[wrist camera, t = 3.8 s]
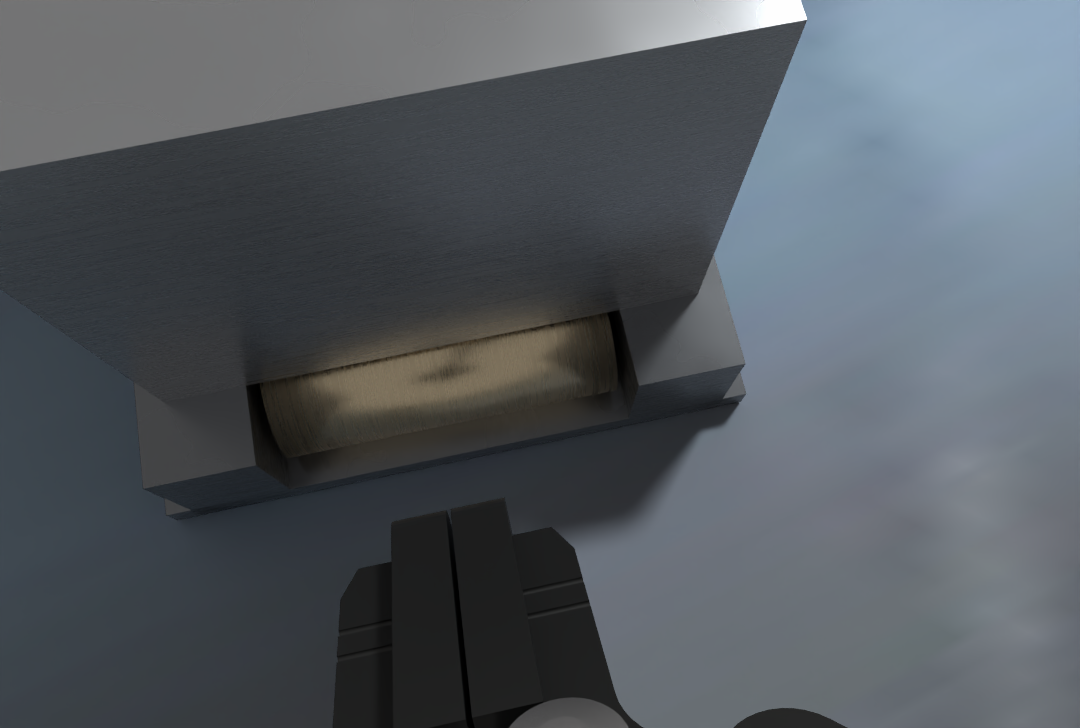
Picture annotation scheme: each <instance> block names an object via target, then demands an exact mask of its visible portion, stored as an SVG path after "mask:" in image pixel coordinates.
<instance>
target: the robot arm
mask: <svg viewBox="0 0 1080 728" xmlns="http://www.w3.org/2000/svg"><path fill="white" fill-rule="evenodd" d="M451 520H452V526H451V522H450V518H449V515H448V512H447V510H446V511H441V512H436V513H432V514H427V515H422V516H418V517H413V518H408V519H403V520H399V521H394V522H392V525H391V556H392V562H388V563H384V564H379V565H374V566H370V567H365V568H360V569H358V570H357V572H356V574H355V576H354V577H353V579H352V581H351V582H350V584H349V586H348V588H347V589H346V591H345V593H344V594H343V596H342V598H341V601H340V618H339V634H340V636H339V637H338V650H337V657H338V663H337V667H336V683H335V699H334V716H333V728H643V727H641V726H640V725H639V724H637V723H636V722H635V721H633V720H632V719H631V718H630V717H629V716H628V715H627V713H626V712H625V711H624V710H623V708H622V707H621V705H620V703H619V702H618V699H617V696H616V694H615V691H614V687H613V684H612V680H611V677H610V673H609V669H608V666H607V662H606V659H605V655H604V652H603V648H602V645H601V641H600V638H599V634H598V631H597V627H596V624H595V620H594V616H593V613H592V609H591V606H590V603H589V599H588V595H587V592H586V588H585V585H584V582H583V578H582V574H581V571H580V567H579V563H578V560H577V556H576V553H575V549H574V548H573V547H572V546H571V545H570V544H569V543H568V542H567V541H566V540H565V539H564V538H563V537H562V536H561V535H559V534H558V533H557V532H556V531H555V530H554V529H553V528H552V527H549V528H545V529H540V530H535V531H531V532H526V533H521V534H517V535H512V531H511V526H510V521H509V517H508V512H507V507H506V503H505V498H501V499H496V500H491V501H487V502H482V503H477V504H473V505H468V506H463V507H459V508H454V509H451ZM452 529H453V530H452ZM734 728H847V727H845V726H843V725H841V724H839V723H837V722H835V721H833V720H831V719H829V718H827V717H824V716H822V715H820V714H817V713H814V712H810V711H807V710H801V709H794V708H779V709H771V710H766V711H762V712H759V713H756V714H754V715H752V716H749V717H747V718H746V719H744V720H743V721H741V722H740V723H738V724H737V725H736V726H735V727H734Z"/></svg>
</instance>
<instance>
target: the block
mask: <svg viewBox="0 0 1080 728" xmlns="http://www.w3.org/2000/svg"><path fill="white" fill-rule="evenodd" d="M806 21H807V18H806V15H805V12H804V9H803V6H802V3H801V0H0V289H1V290H2V291H4V292H5V293H7V294H8V295H10V296H11V297H13V298H14V299H15V300H17V301H18V302H20V303H21V304H23V305H24V306H26V307H27V308H28V309H30V310H31V311H33V312H34V313H36V314H37V315H38V316H40V317H41V318H43V319H44V320H46V321H47V322H49V323H50V324H51V325H53V326H54V327H56V328H57V329H59V330H60V331H61V332H63V333H64V334H66V335H67V336H69V337H70V338H72V339H73V340H74V341H76V342H77V343H79V344H80V345H82V346H83V347H85V348H86V349H87V350H89V351H90V352H92V353H93V354H95V355H96V356H97V357H99V358H100V359H102V360H103V361H105V362H106V363H108V364H109V365H110V366H112V367H113V368H115V369H116V370H118V371H119V372H120V373H122V374H123V375H125V376H126V377H128V378H129V379H131V380H132V381H133V382H135V383H136V384H138V385H139V386H141V387H142V388H144V389H145V390H146V391H148V392H149V393H151V394H152V395H154V396H155V397H156V398H158V399H159V400H161V401H162V402H169V401H174V400H179V399H184V398H189V397H194V396H199V395H204V394H209V393H213V392H218V391H223V390H228V389H233V388H238V387H243V386H248V385H253V384H258V383H263V382H268V381H273V380H277V379H282V378H287V377H292V376H297V375H302V374H307V373H312V372H317V371H322V370H327V369H332V368H337V367H341V366H346V365H351V364H356V363H361V362H366V361H371V360H376V359H381V358H386V357H391V356H396V355H400V354H405V353H410V352H415V351H420V350H425V349H430V348H435V347H440V346H445V345H450V344H455V343H460V342H464V341H469V340H474V339H479V338H484V337H489V336H494V335H499V334H504V333H509V332H514V331H519V330H524V329H528V328H533V327H538V326H543V325H548V324H553V323H558V322H563V321H568V320H573V319H578V318H583V317H588V316H592V315H597V314H602V313H607V312H612V311H617V310H622V309H627V308H632V307H637V306H642V305H647V304H651V303H656V302H661V301H666V300H671V299H676V298H681V297H686V296H691V295H696V294H698V293H699V290H700V288H701V285H702V283H703V280H704V278H705V275H706V273H707V270H708V268H709V265H710V263H711V260H712V258H713V255H714V252H715V250H716V247H717V245H718V242H719V240H720V237H721V235H722V232H723V230H724V227H725V225H726V222H727V220H728V217H729V215H730V212H731V210H732V207H733V205H734V202H735V200H736V197H737V195H738V192H739V190H740V187H741V185H742V182H743V180H744V177H745V175H746V172H747V170H748V167H749V165H750V162H751V159H752V157H753V154H754V152H755V149H756V147H757V144H758V142H759V139H760V137H761V134H762V132H763V129H764V127H765V124H766V122H767V119H768V117H769V114H770V112H771V109H772V107H773V104H774V102H775V99H776V97H777V94H778V92H779V89H780V87H781V84H782V82H783V79H784V77H785V74H786V71H787V69H788V66H789V64H790V61H791V59H792V56H793V54H794V51H795V49H796V46H797V44H798V41H799V39H800V36H801V34H802V31H803V29H804V26H805V24H806Z"/></svg>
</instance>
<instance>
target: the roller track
mask: <svg viewBox="0 0 1080 728" xmlns="http://www.w3.org/2000/svg"><path fill="white" fill-rule="evenodd" d="M744 365H745V360H744V357H743V353H742V350H741V347H740V343H739V340H738V336H737V333H736V329H735V326H734V323H733V319H732V316H731V312H730V309H729V305H728V302H727V299H726V295H725V292H724V288H723V285H722V281H721V278H720V274H719V271H718V268H717V264H716V261H715V257H714V255H713V258H712V260H711V263H710V265H709V268H708V270H707V273H706V275H705V278H704V280H703V283H702V285H701V288H700V290H699V293H698V294H696V295H691V296H686V297H681V298H676V299H671V300H666V301H661V302H656V303H651V304H647V305H642V306H637V307H632V308H627V309H622V310H617V311H612V312H607V313H602V314H597V315H592V316H588V317H583V318H578V319H573V320H568V321H563V322H558V323H553V324H548V325H543V326H538V327H533V328H528V329H524V330H519V331H514V332H509V333H504V334H499V335H494V336H489V337H484V338H479V339H474V340H469V341H464V342H460V343H455V344H450V345H445V346H440V347H435V348H430V349H425V350H420V351H415V352H410V353H405V354H400V355H396V356H391V357H386V358H381V359H376V360H371V361H366V362H361V363H356V364H351V365H346V366H341V367H337V368H332V369H327V370H322V371H317V372H312V373H307V374H302V375H297V376H292V377H287V378H282V379H277V380H273V381H268V382H263V383H258V384H253V385H248V386H243V387H238V388H233V389H228V390H223V391H218V392H213V393H209V394H204V395H199V396H194V397H189V398H184V399H179V400H174V401H169V402H162V401H161V400H159V399H158V398H156V397H155V396H154V395H152V394H151V393H149V392H148V391H146V390H145V389H144V388H142V387H141V386H139V385H138V384H136V383H135V382H134V391H135V402H136V413H137V425H138V436H139V447H140V459H141V470H142V481H143V489H145V490H147V491H149V492H152V493H154V494H156V495H158V496H160V497H163V498H165V508H166V516H169V517H171V518H174V519H176V520H179V519H184V518H189V517H193V516H198V515H203V514H208V513H212V512H217V511H222V510H227V509H231V508H236V507H241V506H246V505H250V504H255V503H260V502H265V501H269V500H274V499H279V498H284V497H289V496H293V495H298V494H303V493H308V492H312V491H317V490H322V489H327V488H331V487H336V486H341V485H346V484H350V483H355V482H360V481H365V480H369V479H374V478H379V477H384V476H389V475H393V474H398V473H403V472H408V471H412V470H417V469H422V468H427V467H431V466H436V465H441V464H446V463H450V462H455V461H460V460H465V459H469V458H474V457H479V456H484V455H488V454H493V453H498V452H503V451H508V450H512V449H517V448H522V447H527V446H531V445H536V444H541V443H546V442H550V441H555V440H560V439H565V438H569V437H574V436H579V435H584V434H588V433H593V432H598V431H603V430H608V429H612V428H617V427H622V426H627V425H631V424H636V423H641V422H646V421H650V420H655V419H660V418H665V417H669V416H674V415H679V414H684V413H688V412H693V411H698V410H703V409H707V408H712V407H717V406H722V405H727V404H731V403H736V402H741V400H742V399H743V398H744V396H745V395H746V391H745V388H744V384H743V381H742V377H741V374H740V371H741V370H742V368H743V367H744Z"/></svg>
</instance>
